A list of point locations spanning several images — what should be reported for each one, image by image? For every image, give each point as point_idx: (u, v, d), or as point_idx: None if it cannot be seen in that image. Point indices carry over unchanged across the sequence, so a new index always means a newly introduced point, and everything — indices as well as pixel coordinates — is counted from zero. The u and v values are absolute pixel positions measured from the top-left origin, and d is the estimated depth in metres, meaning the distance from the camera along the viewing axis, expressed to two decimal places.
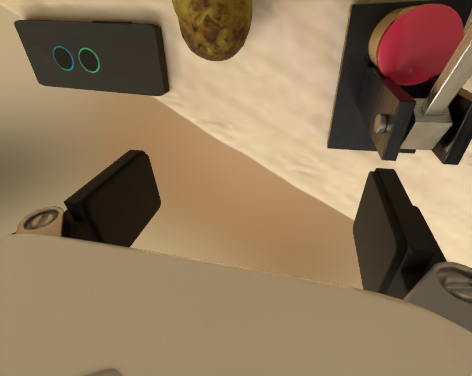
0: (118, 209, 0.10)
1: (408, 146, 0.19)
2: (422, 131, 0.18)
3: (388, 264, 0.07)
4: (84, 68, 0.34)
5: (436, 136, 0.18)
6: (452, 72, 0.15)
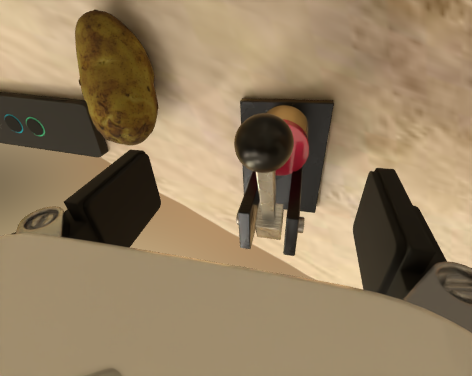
0: (118, 209, 0.10)
1: (262, 236, 0.24)
2: (263, 230, 0.22)
3: (388, 264, 0.07)
4: (32, 132, 0.38)
5: (276, 233, 0.22)
6: (261, 202, 0.19)
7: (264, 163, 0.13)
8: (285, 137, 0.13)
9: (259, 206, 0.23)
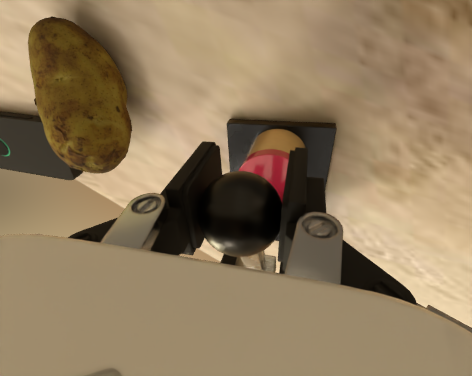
0: None
1: None
2: None
3: None
4: None
5: None
6: (245, 264, 0.15)
7: (238, 251, 0.09)
8: (269, 213, 0.08)
9: None
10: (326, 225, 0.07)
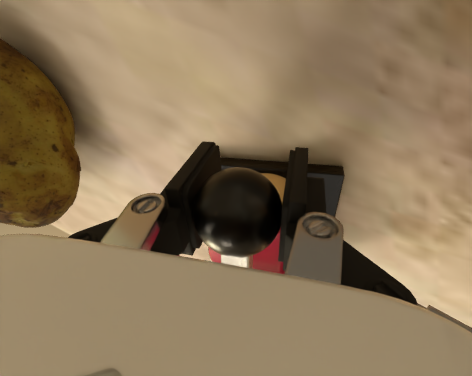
0: None
1: None
2: None
3: None
4: None
5: None
6: None
7: (234, 227, 0.08)
8: (271, 194, 0.08)
9: None
10: (326, 225, 0.07)
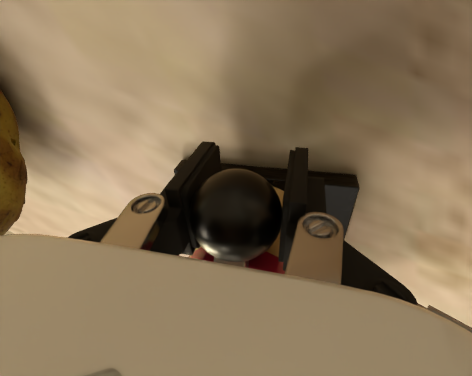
0: None
1: None
2: None
3: None
4: None
5: None
6: None
7: (233, 212, 0.07)
8: (272, 191, 0.08)
9: None
10: (327, 225, 0.07)
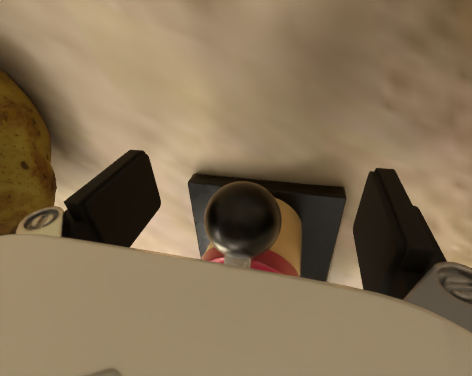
0: (118, 209, 0.10)
1: None
2: None
3: (388, 264, 0.07)
4: None
5: None
6: None
7: (242, 219, 0.09)
8: (272, 200, 0.10)
9: None
10: None
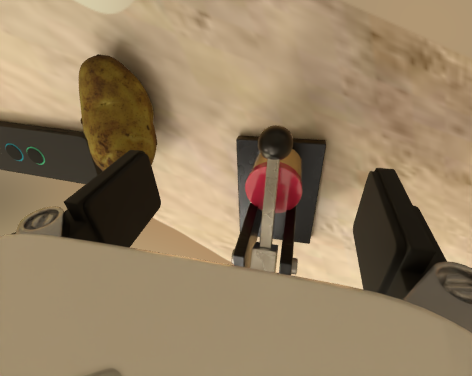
0: (118, 209, 0.10)
1: None
2: (259, 258, 0.23)
3: (388, 264, 0.07)
4: (32, 160, 0.39)
5: (270, 265, 0.22)
6: (263, 212, 0.23)
7: (277, 137, 0.22)
8: (289, 133, 0.23)
9: (256, 243, 0.25)
10: None
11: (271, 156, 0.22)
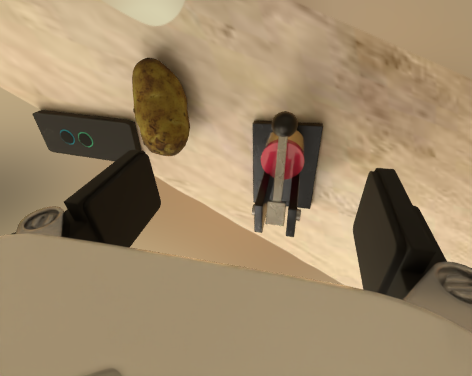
0: (118, 209, 0.10)
1: (270, 221, 0.31)
2: (273, 209, 0.31)
3: (388, 264, 0.07)
4: (82, 143, 0.48)
5: (281, 213, 0.31)
6: (275, 175, 0.32)
7: (286, 119, 0.30)
8: None
9: (270, 200, 0.33)
10: None
11: (281, 134, 0.31)
